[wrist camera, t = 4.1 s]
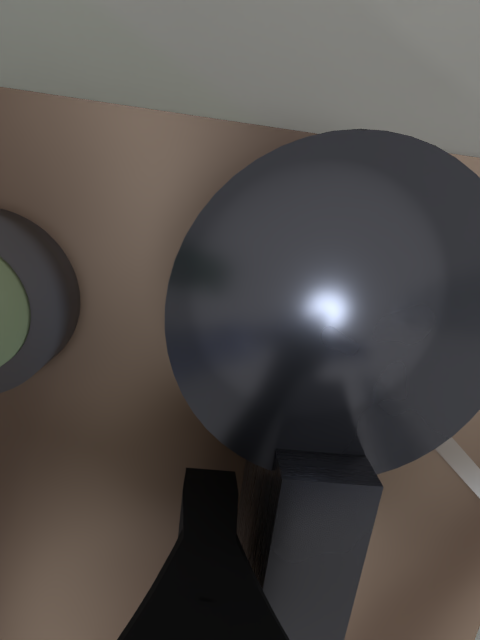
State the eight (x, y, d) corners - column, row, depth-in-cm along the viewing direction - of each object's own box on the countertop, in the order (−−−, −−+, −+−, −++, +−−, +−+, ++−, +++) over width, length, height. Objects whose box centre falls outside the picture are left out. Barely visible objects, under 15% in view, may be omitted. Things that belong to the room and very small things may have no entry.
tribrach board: (-62, 602, 12) (-128, 695, 10) (-113, 80, 8) (-242, 31, 6) (447, 629, 13) (494, 717, 11) (604, 185, 9) (726, 178, 7)
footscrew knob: (196, 142, 8) (173, 83, 4) (446, 176, 8) (632, 150, 4) (157, 591, 10) (124, 789, 7) (342, 601, 11) (401, 794, 7)
